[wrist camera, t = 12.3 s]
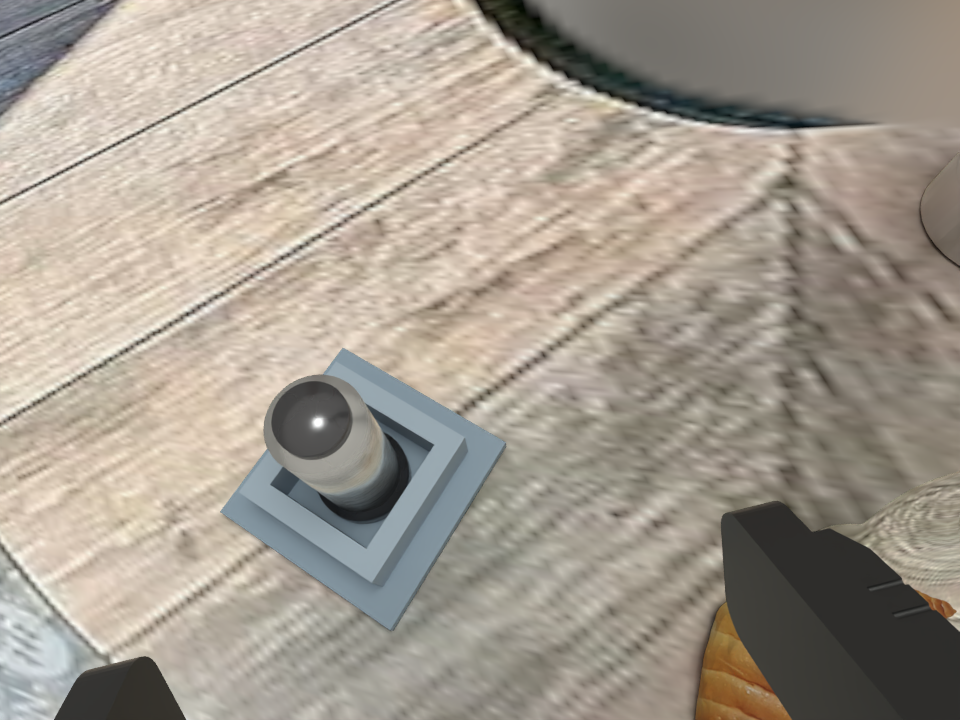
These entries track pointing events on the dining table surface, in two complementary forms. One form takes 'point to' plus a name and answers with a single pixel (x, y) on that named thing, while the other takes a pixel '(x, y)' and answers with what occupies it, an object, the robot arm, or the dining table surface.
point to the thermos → (337, 448)
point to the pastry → (733, 679)
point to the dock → (411, 523)
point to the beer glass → (920, 541)
